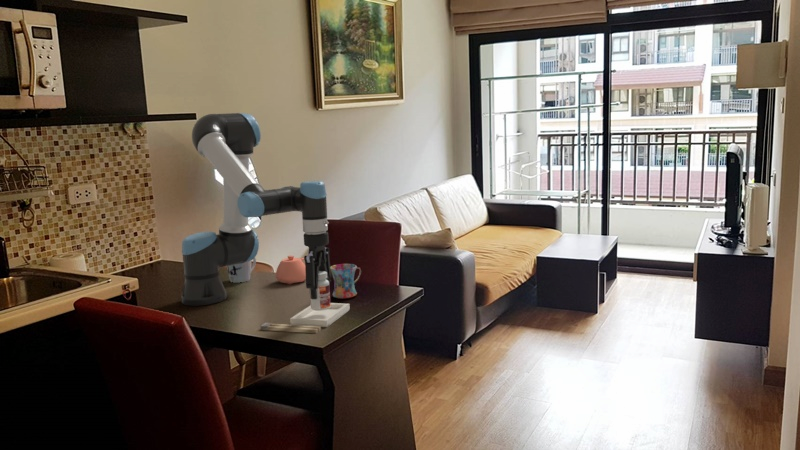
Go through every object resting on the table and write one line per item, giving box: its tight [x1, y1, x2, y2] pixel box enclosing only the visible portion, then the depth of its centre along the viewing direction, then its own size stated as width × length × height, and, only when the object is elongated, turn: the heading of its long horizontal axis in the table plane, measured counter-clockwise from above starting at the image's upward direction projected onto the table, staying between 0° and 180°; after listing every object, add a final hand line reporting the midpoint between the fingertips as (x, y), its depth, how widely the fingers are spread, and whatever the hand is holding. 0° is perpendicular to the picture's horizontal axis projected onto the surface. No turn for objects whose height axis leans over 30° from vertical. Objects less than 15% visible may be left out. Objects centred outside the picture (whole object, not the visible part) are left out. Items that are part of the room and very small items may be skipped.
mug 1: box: [226, 257, 257, 284], centre depth 255 cm, size 10×15×10 cm
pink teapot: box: [275, 255, 306, 286], centre depth 249 cm, size 12×14×10 cm
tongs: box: [259, 322, 322, 334], centre depth 190 cm, size 18×3×1 cm, turn 73°
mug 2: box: [330, 263, 362, 299], centre depth 224 cm, size 12×9×11 cm
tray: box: [289, 302, 351, 328], centre depth 201 cm, size 12×18×2 cm, turn 163°
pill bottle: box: [309, 271, 332, 311], centre depth 200 cm, size 6×6×11 cm
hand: (320, 305), depth 201 cm, fingers closed on pill bottle, 6 cm apart
